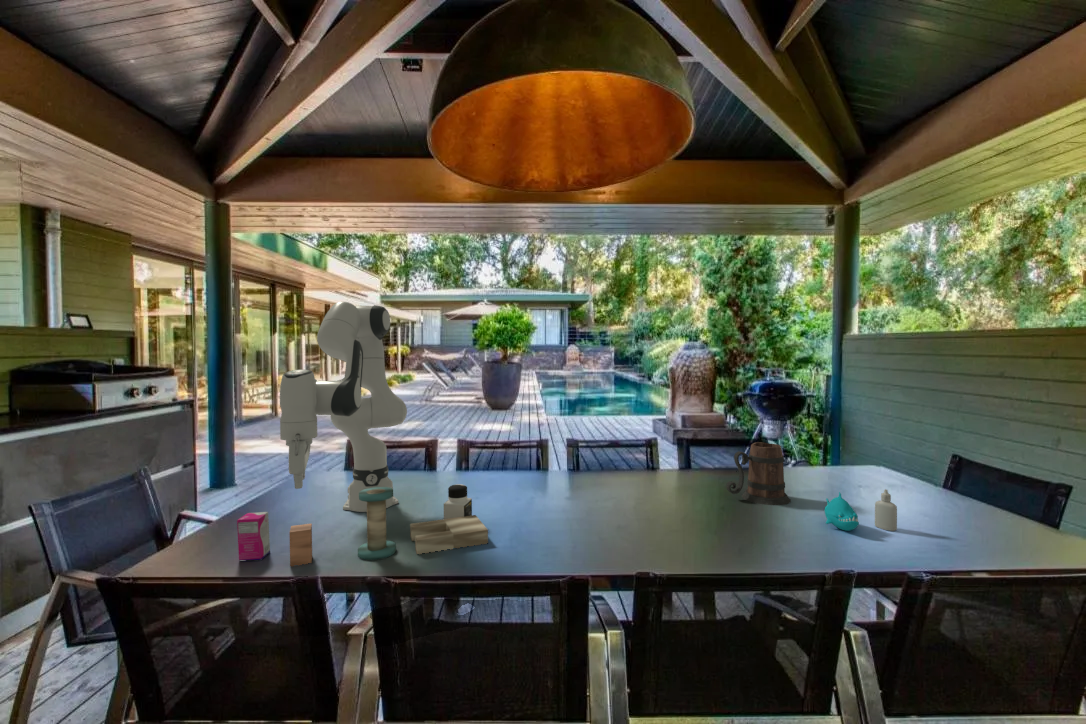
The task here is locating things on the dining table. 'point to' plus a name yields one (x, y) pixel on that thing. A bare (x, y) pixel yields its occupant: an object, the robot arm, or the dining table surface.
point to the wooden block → (300, 544)
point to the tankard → (762, 475)
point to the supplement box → (253, 536)
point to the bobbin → (376, 524)
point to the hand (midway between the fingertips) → (300, 483)
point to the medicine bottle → (457, 502)
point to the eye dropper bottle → (886, 513)
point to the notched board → (448, 534)
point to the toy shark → (841, 514)
